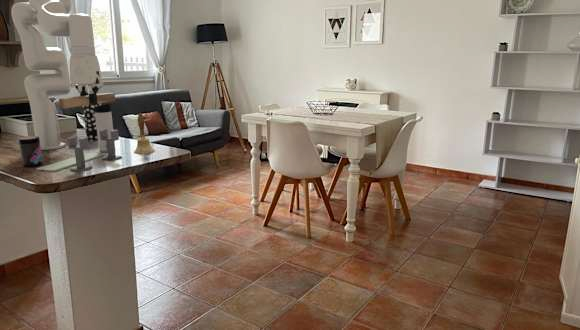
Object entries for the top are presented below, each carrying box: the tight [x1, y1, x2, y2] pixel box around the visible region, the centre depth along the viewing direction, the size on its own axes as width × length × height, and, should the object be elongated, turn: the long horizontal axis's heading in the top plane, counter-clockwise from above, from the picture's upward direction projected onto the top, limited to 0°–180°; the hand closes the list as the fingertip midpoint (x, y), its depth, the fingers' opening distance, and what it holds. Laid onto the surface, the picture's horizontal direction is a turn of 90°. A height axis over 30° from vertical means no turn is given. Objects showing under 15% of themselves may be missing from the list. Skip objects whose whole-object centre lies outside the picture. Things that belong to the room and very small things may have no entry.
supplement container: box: [17, 135, 44, 168], centre depth 161 cm, size 7×7×10 cm
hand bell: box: [133, 113, 155, 155], centre depth 181 cm, size 8×8×16 cm
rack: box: [66, 129, 123, 173], centre depth 161 cm, size 6×21×11 cm, turn 162°
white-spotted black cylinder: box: [82, 103, 103, 142], centre depth 207 cm, size 8×8×20 cm
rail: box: [58, 92, 116, 109], centre depth 157 cm, size 3×24×3 cm, turn 162°
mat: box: [36, 152, 107, 172], centre depth 166 cm, size 8×26×1 cm, turn 162°
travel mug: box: [94, 103, 116, 154], centre depth 181 cm, size 6×7×20 cm
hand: (89, 103), depth 157 cm, fingers closed on rail, 3 cm apart
